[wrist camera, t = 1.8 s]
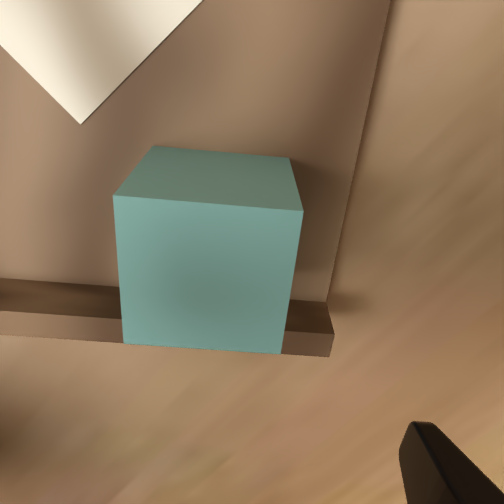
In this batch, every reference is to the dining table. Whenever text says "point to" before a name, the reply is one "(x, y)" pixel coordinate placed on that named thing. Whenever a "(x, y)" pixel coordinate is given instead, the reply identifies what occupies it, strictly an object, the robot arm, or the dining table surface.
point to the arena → (169, 136)
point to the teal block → (207, 249)
